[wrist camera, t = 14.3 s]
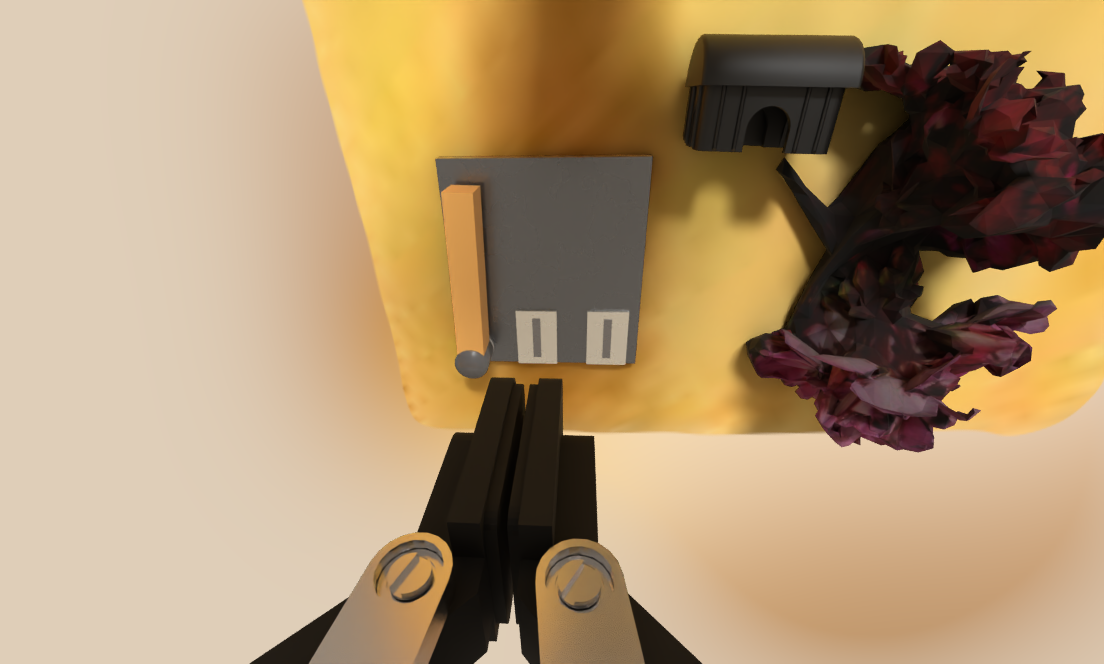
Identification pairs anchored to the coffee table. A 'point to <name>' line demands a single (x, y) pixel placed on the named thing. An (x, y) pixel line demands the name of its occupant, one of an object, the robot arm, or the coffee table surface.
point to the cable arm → (467, 278)
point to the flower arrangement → (936, 242)
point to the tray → (560, 252)
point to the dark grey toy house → (769, 90)
